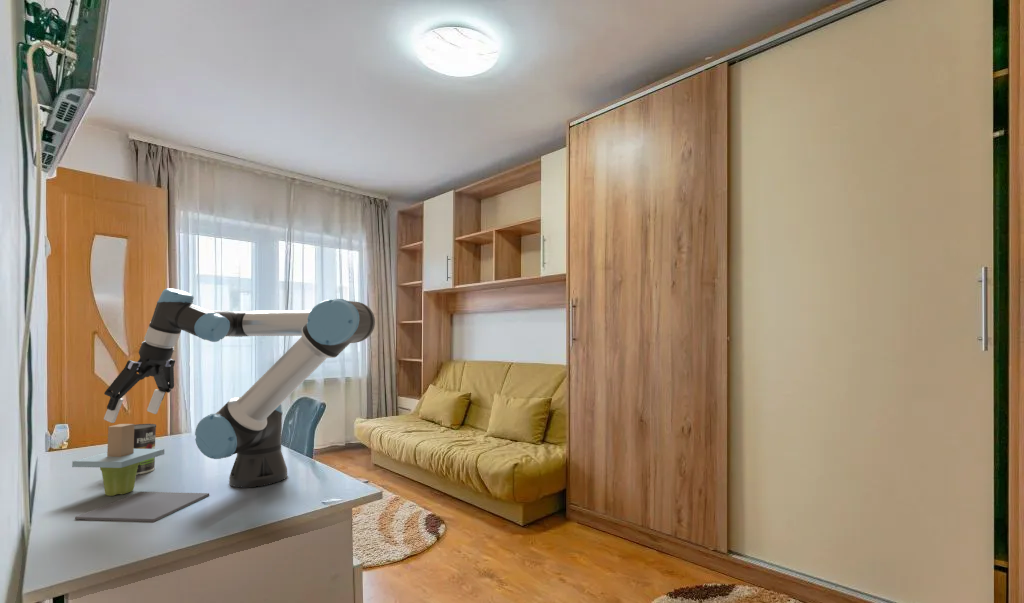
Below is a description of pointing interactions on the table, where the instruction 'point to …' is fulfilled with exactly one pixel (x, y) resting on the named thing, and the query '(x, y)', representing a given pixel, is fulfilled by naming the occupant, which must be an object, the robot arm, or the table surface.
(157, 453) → the cover lid
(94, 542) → the table surface
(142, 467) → the coffee can
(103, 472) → the plant pot
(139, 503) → the mat
